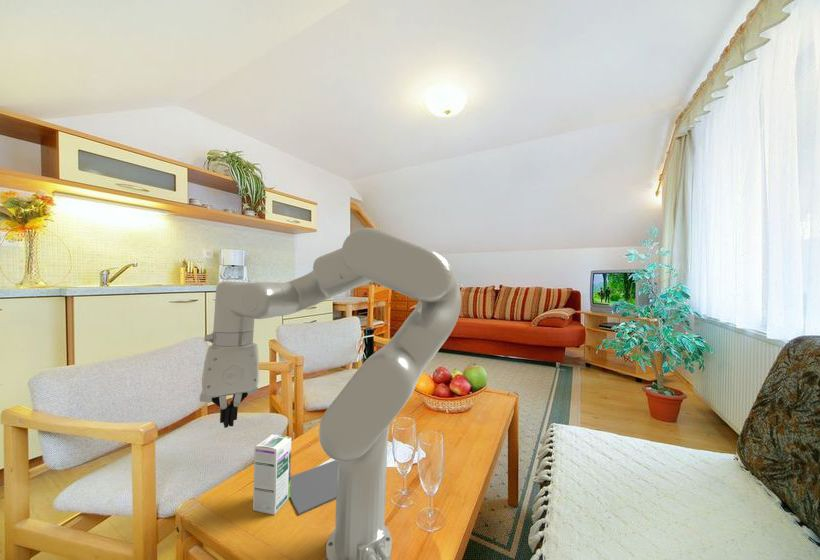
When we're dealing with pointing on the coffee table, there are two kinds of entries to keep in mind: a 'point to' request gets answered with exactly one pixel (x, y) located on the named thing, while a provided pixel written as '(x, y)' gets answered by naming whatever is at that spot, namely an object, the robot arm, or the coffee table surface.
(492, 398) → the coffee table surface
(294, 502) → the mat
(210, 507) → the coffee table surface
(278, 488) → the syrup box
